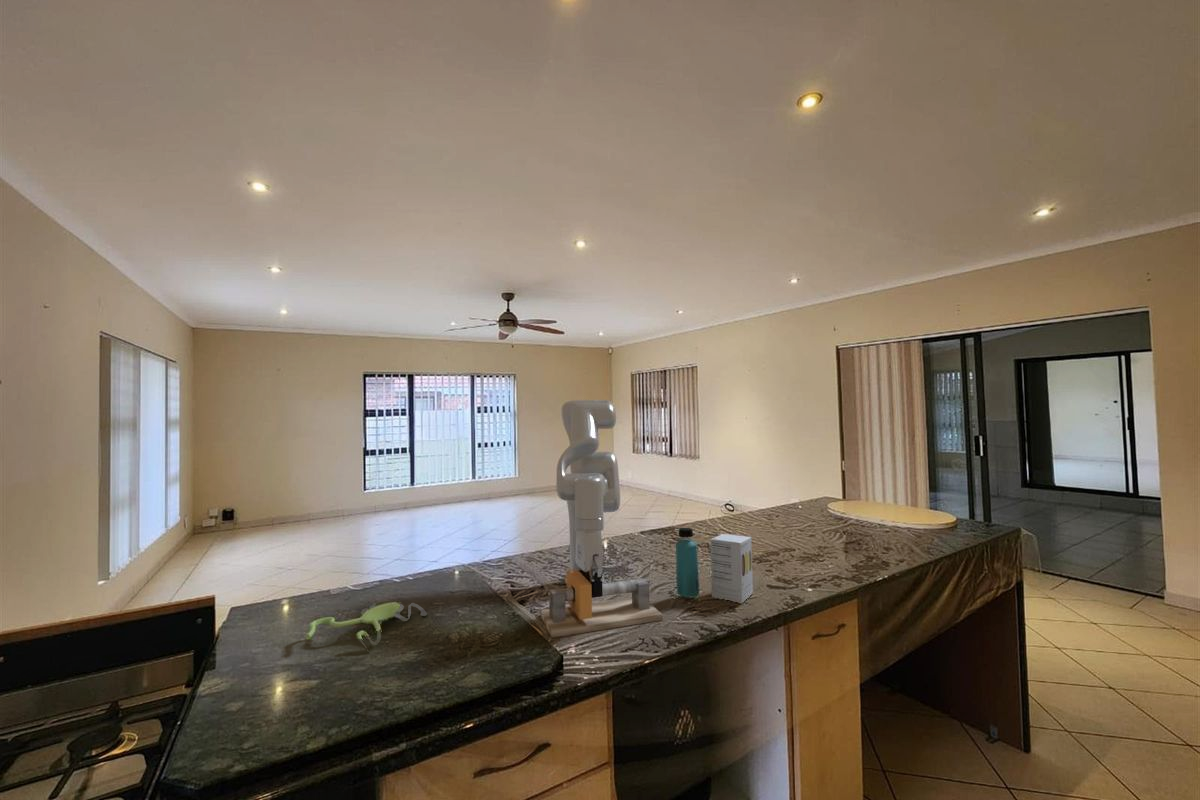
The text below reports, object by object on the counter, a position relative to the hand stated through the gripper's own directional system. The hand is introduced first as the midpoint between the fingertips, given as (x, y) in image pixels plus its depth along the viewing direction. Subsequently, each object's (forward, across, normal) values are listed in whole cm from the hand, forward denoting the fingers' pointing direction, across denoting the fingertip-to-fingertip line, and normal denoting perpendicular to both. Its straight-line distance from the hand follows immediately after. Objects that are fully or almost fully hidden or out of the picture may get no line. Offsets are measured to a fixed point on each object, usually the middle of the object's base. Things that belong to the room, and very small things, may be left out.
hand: (590, 590), depth 120 cm
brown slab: (+4, 0, -3) cm, 5 cm away
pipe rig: (+7, 0, +3) cm, 8 cm away
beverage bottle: (+7, -4, +31) cm, 32 cm away
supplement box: (+7, -1, +44) cm, 44 cm away
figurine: (+8, -13, -54) cm, 56 cm away
